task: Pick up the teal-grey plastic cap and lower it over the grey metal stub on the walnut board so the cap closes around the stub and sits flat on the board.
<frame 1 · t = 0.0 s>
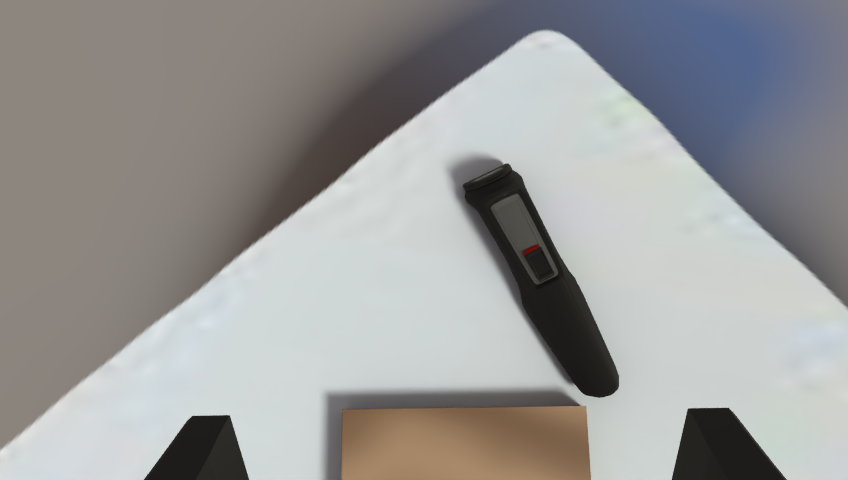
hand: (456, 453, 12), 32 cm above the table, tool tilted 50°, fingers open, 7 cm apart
electric trimmer: (540, 276, 45), on the table
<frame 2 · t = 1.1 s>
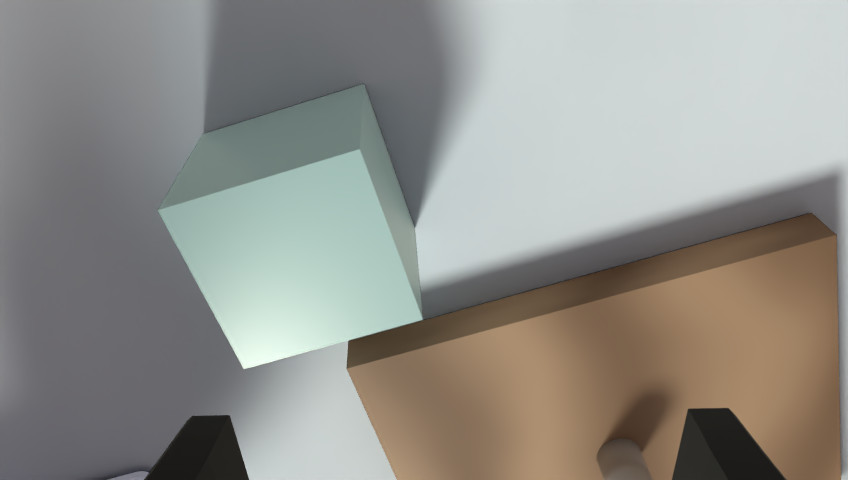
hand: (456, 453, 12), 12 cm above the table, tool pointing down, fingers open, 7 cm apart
stub board: (607, 425, 28), on the table
housing cap: (313, 183, 22), on the table
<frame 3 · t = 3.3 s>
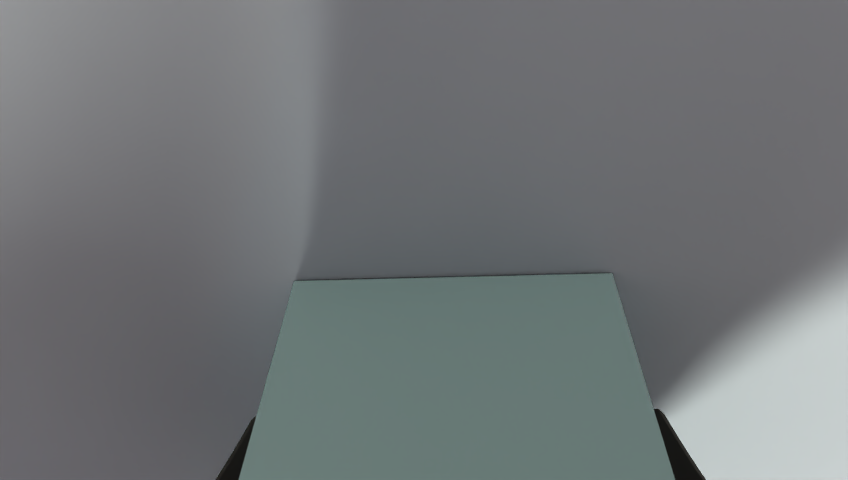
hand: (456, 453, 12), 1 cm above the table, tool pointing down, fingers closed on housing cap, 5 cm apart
housing cap: (455, 388, 13), on the table, touching gripper
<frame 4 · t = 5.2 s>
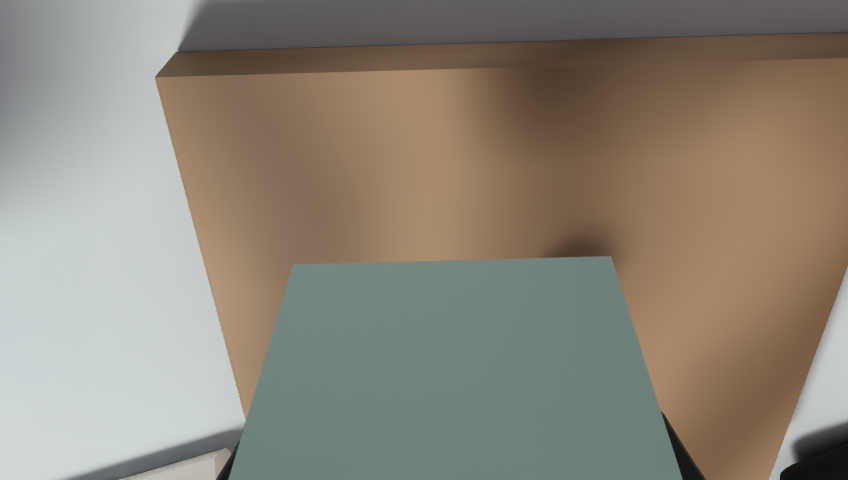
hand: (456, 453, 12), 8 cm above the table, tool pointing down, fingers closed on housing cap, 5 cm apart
stub board: (514, 284, 20), on the table
housing cap: (454, 375, 13), point 7 cm above the table, touching gripper
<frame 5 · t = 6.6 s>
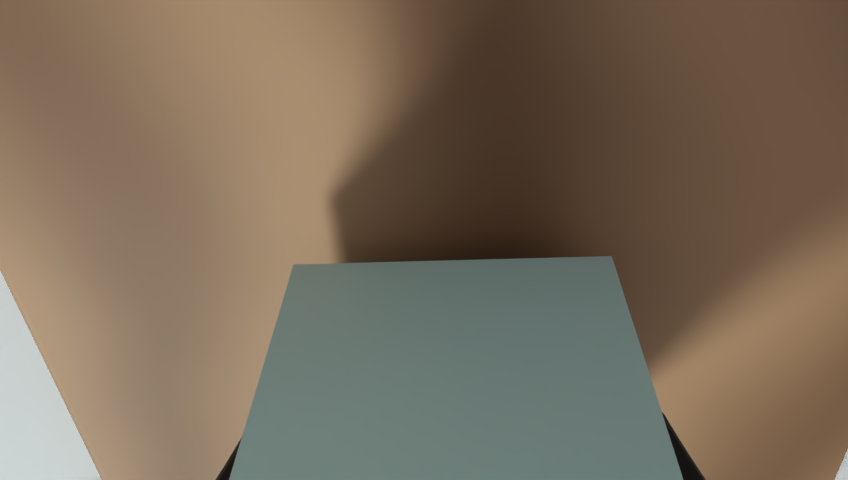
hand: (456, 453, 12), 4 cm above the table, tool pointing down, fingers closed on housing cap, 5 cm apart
stub board: (454, 298, 15), on the table
housing cap: (455, 375, 13), point 2 cm above the table, touching gripper
when the fingers open (4 cm above the table, at t = 7.5 s): housing cap stays where it is, resting on stub board.
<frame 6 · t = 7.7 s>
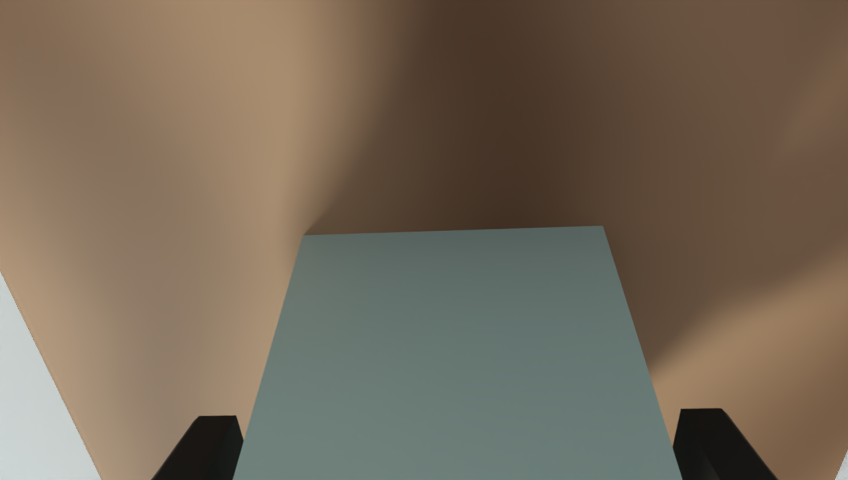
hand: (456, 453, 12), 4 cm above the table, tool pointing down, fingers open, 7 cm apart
stub board: (454, 298, 15), on the table
housing cap: (455, 341, 14), point 1 cm above the table, touching stub board
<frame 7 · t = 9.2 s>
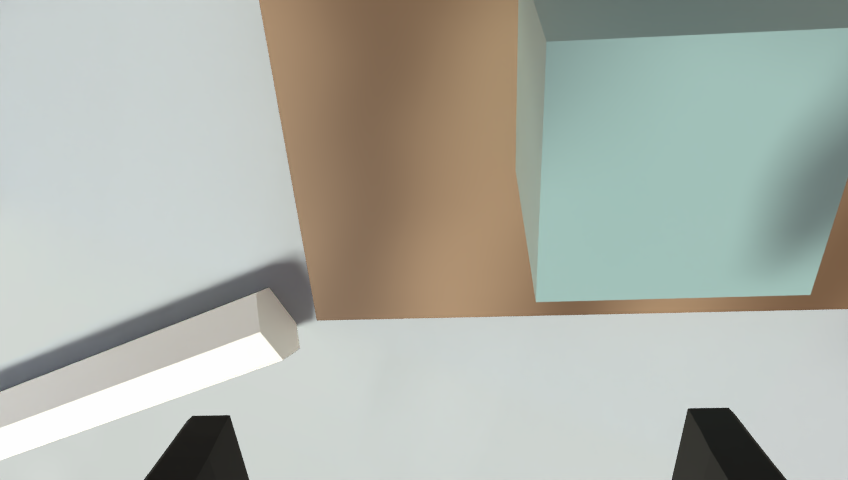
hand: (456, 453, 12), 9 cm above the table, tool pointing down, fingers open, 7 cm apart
marker: (88, 370, 25), on the table
stub board: (616, 51, 17), on the table
housing cap: (630, 67, 16), point 1 cm above the table, touching stub board
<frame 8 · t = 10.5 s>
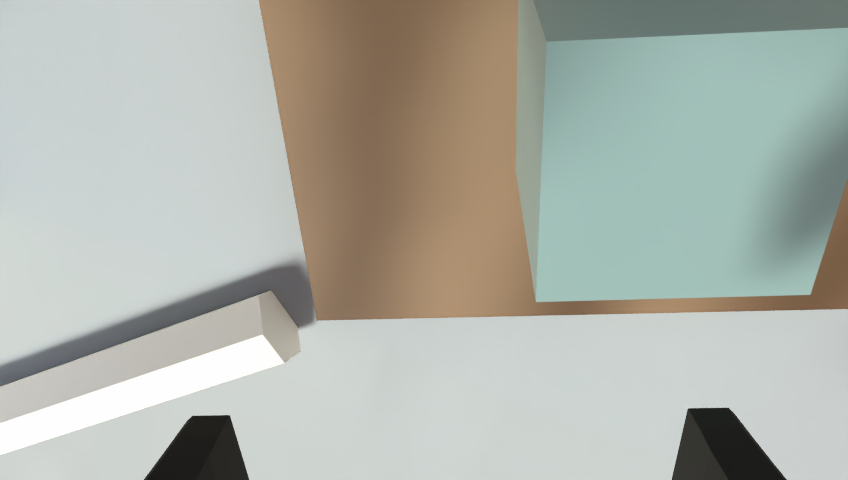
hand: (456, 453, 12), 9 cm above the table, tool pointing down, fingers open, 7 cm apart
marker: (86, 367, 25), on the table
stub board: (616, 51, 17), on the table
housing cap: (630, 67, 16), point 1 cm above the table, touching stub board
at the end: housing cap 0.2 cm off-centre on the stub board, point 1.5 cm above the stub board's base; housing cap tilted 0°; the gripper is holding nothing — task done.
